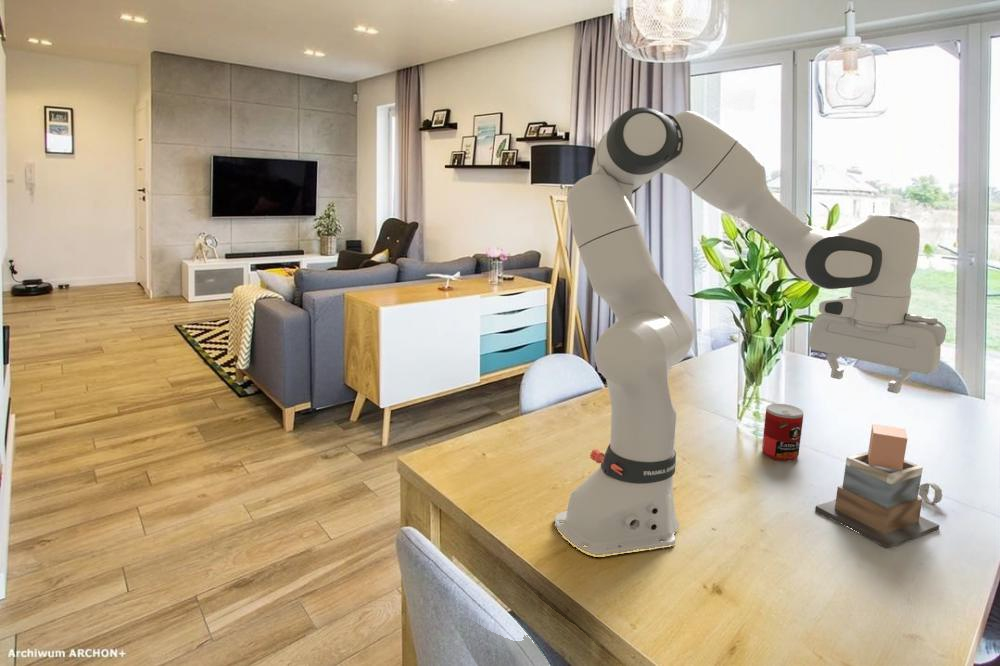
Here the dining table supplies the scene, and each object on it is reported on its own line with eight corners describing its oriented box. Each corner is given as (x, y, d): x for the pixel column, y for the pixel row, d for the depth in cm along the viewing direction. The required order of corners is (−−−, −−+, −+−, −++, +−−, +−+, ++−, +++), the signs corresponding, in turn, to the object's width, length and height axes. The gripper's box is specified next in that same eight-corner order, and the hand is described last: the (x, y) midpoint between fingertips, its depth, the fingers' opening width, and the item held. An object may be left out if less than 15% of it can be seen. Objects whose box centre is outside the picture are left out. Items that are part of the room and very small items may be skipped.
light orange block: (868, 464, 107) (873, 433, 106) (867, 454, 112) (872, 423, 110) (902, 470, 105) (907, 438, 104) (899, 459, 109) (904, 428, 108)
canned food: (777, 463, 134) (783, 417, 132) (754, 449, 142) (758, 405, 139) (806, 459, 136) (812, 413, 134) (781, 445, 144) (786, 402, 141)
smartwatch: (942, 506, 116) (945, 487, 115) (933, 507, 115) (936, 488, 114) (925, 497, 119) (928, 479, 118) (916, 499, 119) (919, 480, 118)
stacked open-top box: (888, 549, 102) (898, 486, 99) (815, 510, 114) (822, 454, 112) (938, 530, 108) (949, 470, 105) (863, 495, 120) (871, 441, 117)
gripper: (954, 317, 99) (937, 397, 102) (825, 298, 114) (814, 368, 118) (942, 322, 95) (925, 405, 98) (810, 301, 110) (799, 373, 114)
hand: (864, 384), depth 108 cm, fingers open, 8 cm apart
